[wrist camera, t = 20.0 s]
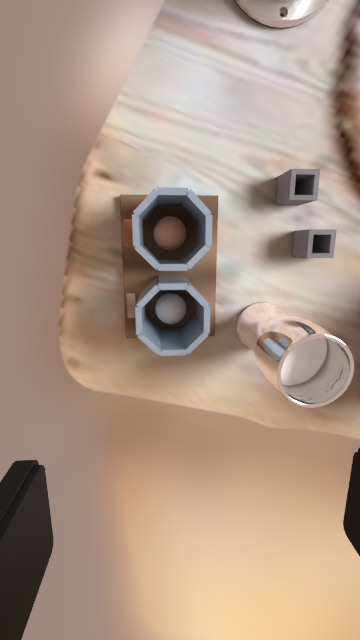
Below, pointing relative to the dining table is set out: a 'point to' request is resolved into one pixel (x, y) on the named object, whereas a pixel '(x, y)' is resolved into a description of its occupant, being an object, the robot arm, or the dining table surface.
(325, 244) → the stand
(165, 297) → the ivory ball
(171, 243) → the terracotta ball
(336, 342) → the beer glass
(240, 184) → the dining table surface
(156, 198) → the tubes
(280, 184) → the stand
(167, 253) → the rack board
